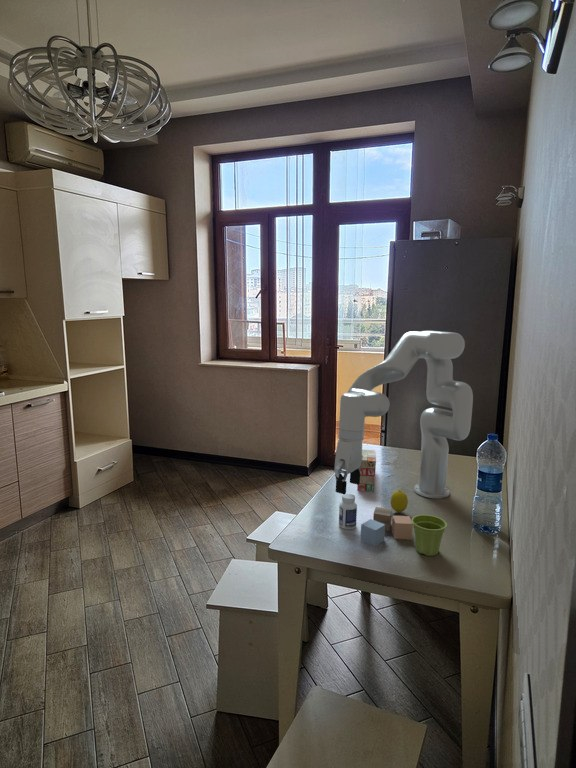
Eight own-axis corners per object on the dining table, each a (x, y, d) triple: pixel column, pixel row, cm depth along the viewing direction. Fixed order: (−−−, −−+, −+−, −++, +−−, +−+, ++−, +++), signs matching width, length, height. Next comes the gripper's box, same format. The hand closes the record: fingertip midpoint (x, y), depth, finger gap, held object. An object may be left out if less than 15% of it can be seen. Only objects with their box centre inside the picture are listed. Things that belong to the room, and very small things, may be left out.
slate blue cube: (369, 534, 142) (370, 518, 141) (384, 540, 138) (385, 524, 137) (360, 540, 138) (361, 524, 137) (374, 546, 135) (375, 530, 134)
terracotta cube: (391, 530, 144) (392, 515, 143) (408, 531, 144) (409, 516, 143) (394, 538, 139) (395, 523, 138) (411, 539, 139) (412, 523, 138)
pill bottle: (358, 524, 148) (360, 495, 146) (352, 531, 143) (353, 501, 141) (342, 520, 150) (344, 491, 149) (335, 526, 146) (337, 497, 144)
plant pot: (403, 543, 136) (405, 515, 135) (433, 540, 138) (435, 513, 137) (419, 561, 127) (422, 531, 126) (451, 557, 130) (453, 528, 128)
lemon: (394, 517, 153) (396, 494, 152) (387, 510, 158) (388, 487, 157) (410, 515, 155) (411, 492, 153) (401, 508, 160) (403, 486, 158)
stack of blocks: (358, 470, 195) (359, 442, 193) (373, 472, 194) (375, 443, 192) (357, 491, 174) (358, 459, 172) (374, 492, 173) (376, 460, 171)
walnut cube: (374, 521, 150) (375, 506, 149) (390, 524, 149) (391, 509, 148) (372, 528, 145) (373, 513, 145) (389, 531, 144) (390, 515, 143)
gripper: (352, 426, 151) (348, 477, 153) (326, 437, 136) (323, 493, 139) (374, 430, 147) (370, 482, 150) (350, 442, 132) (346, 500, 135)
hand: (347, 488), depth 144 cm, fingers open, 9 cm apart
